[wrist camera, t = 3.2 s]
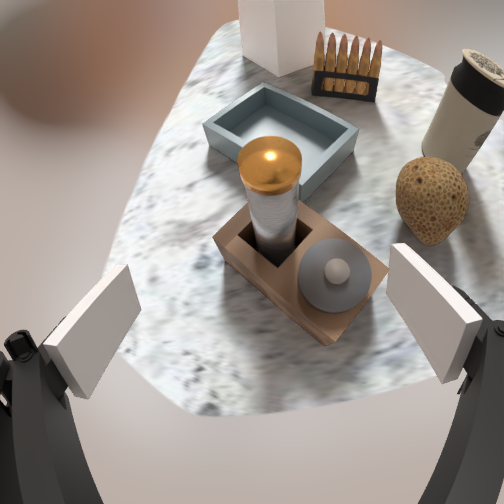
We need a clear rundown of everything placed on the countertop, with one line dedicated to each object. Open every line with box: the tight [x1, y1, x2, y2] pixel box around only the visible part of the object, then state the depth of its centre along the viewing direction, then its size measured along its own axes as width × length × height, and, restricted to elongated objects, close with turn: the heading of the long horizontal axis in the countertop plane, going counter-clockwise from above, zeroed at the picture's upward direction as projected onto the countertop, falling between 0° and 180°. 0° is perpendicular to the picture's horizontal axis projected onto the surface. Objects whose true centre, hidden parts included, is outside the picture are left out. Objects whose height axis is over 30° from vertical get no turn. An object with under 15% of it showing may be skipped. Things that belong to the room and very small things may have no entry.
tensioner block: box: [213, 200, 389, 346], centre depth 26 cm, size 14×8×8 cm, turn 47°
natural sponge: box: [396, 157, 469, 246], centre depth 26 cm, size 9×9×10 cm
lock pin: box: [237, 136, 302, 268], centre depth 24 cm, size 4×4×16 cm
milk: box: [238, 0, 325, 77], centre depth 34 cm, size 12×12×26 cm
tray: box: [202, 82, 359, 203], centre depth 35 cm, size 16×12×4 cm
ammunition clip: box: [311, 32, 382, 102], centre depth 35 cm, size 11×2×12 cm, turn 84°
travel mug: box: [422, 49, 504, 174], centre depth 26 cm, size 8×8×18 cm
